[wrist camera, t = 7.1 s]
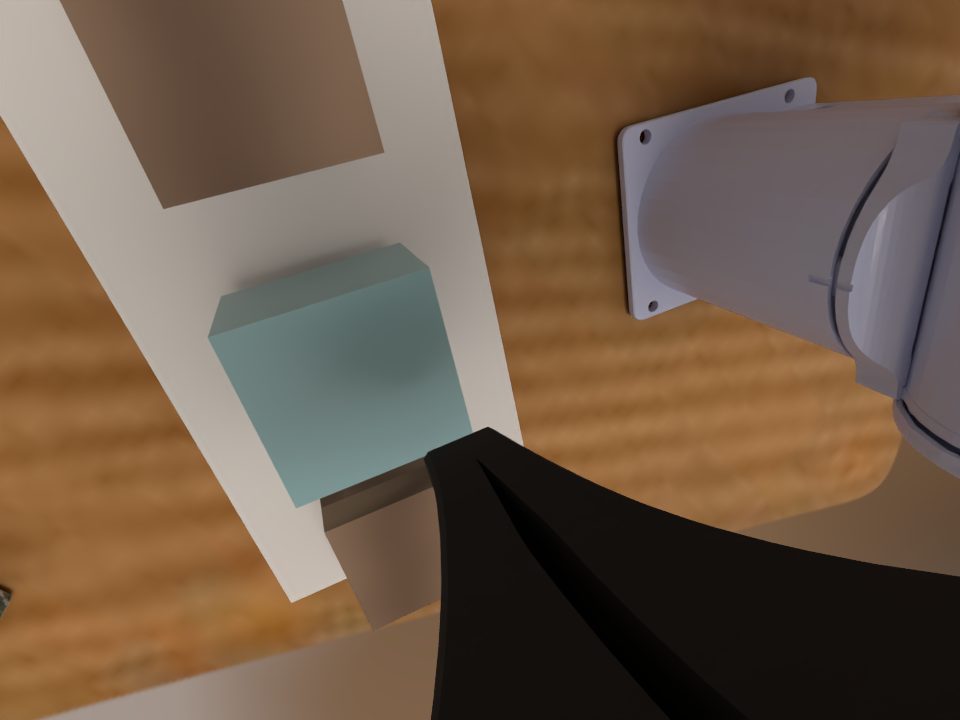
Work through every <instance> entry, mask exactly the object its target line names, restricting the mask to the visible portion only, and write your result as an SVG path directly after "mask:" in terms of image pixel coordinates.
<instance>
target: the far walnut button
mask: <svg viewBox="0 0 960 720" xmlns="http://www.w3.org/2000/svg"><path fill="white" fill-rule="evenodd" d="M424 458H425V456H424V457H422V458H419V459H417V460H414V461H412V462H409V463H407V464H404V465H402V466H399V467H397V468H395V469H392V470H390V471H387V472H385V473H382V474H380V475H377V476H375V477H372V478H370V479H367V480H365V481H363V482H360V483H358V484H355V485H353V486H350V487H348V488H345V489H343V490H340V491H338V492H335V493H333V494H331V495H328V496H326V497H323V498H321V499H320V503H321V511H322V519H323V527H324V533H325V535H326V537H327V539H328V541H329V543H330V545H331V547H332V549H333V551H334V553H335V555H336V557H337V559H338V561H339V563H340V565H341V567H342V569H343V571H344V573H345V575H346V577H347V579H348V581H349V583H350V585H351V587H352V589H353V591H354V593H355V595H356V597H357V599H358V601H359V603H360V605H361V607H362V609H363V612H364V614H365V616H366V618H367V620H368V622H369V624H370V626H371V628H372V630H373V631H374V630H376V629H378V628H380V627H382V626H385V625H387V624H389V623H391V622H393V621H395V620H397V619H399V618H401V617H403V616H405V615H408V614H410V613H412V612H414V611H416V610H418V609H420V608H422V607H424V606H426V605H428V604H431V603H433V602H435V601H437V600H439V599H441V551H440V532H439V522H438V512H437V503H436V497H435V492H434V489H433V486H432V483H431V480H430V477H429V474H428V471H427V468H426V465H425V462H424Z"/></svg>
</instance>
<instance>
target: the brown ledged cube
mask: <svg viewBox="0 0 960 720" xmlns="http://www.w3.org/2000/svg"><path fill="white" fill-rule="evenodd" d="M60 2H61V4H62V6H63V8H64V10H65V12H66V15H67V17H68V19H69V21H70V23H71V25H72V27H73V29H74V31H75V33H76V35H77V37H78V39H79V41H80V43H81V45H82V47H83V49H84V51H85V53H86V55H87V57H88V59H89V61H90V63H91V65H92V67H93V69H94V71H95V73H96V75H97V77H98V79H99V81H100V83H101V85H102V87H103V89H104V91H105V93H106V95H107V97H108V99H109V101H110V103H111V105H112V107H113V109H114V111H115V113H116V115H117V117H118V119H119V121H120V123H121V125H122V127H123V129H124V131H125V133H126V135H127V137H128V139H129V141H130V143H131V145H132V147H133V149H134V151H135V153H136V155H137V157H138V159H139V161H140V163H141V165H142V167H143V169H144V171H145V173H146V175H147V177H148V179H149V181H150V183H151V185H152V187H153V189H154V191H155V193H156V195H157V197H158V199H159V201H160V203H161V205H162V207H163V209H166V208H170V207H174V206H178V205H182V204H186V203H190V202H194V201H198V200H202V199H205V198H209V197H213V196H217V195H221V194H225V193H229V192H233V191H237V190H241V189H244V188H248V187H252V186H256V185H260V184H264V183H268V182H272V181H276V180H280V179H284V178H287V177H291V176H295V175H299V174H303V173H307V172H311V171H315V170H319V169H323V168H326V167H330V166H334V165H338V164H342V163H346V162H350V161H354V160H358V159H362V158H366V157H369V156H373V155H377V154H381V153H385V152H384V149H383V145H382V141H381V138H380V134H379V131H378V127H377V123H376V120H375V116H374V113H373V109H372V105H371V102H370V98H369V95H368V91H367V87H366V84H365V80H364V76H363V73H362V69H361V66H360V62H359V58H358V55H357V51H356V48H355V44H354V40H353V37H352V33H351V30H350V26H349V22H348V19H347V15H346V12H345V8H344V4H343V1H342V0H60Z"/></svg>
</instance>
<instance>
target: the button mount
mask: <svg viewBox="0 0 960 720" xmlns="http://www.w3.org/2000/svg"><path fill="white" fill-rule="evenodd" d="M342 1H343V4H344V8H345V12H346V15H347V19H348V22H349V26H350V30H351V33H352V37H353V40H354V44H355V48H356V51H357V55H358V58H359V62H360V66H361V69H362V73H363V76H364V80H365V84H366V87H367V91H368V95H369V98H370V102H371V105H372V109H373V113H374V116H375V120H376V123H377V127H378V131H379V134H380V138H381V141H382V145H383V149H384V152H385V153H381V154H377V155H373V156H369V157H366V158H362V159H358V160H354V161H350V162H346V163H342V164H338V165H334V166H330V167H326V168H323V169H319V170H315V171H311V172H307V173H303V174H299V175H295V176H291V177H287V178H284V179H280V180H276V181H272V182H268V183H264V184H260V185H256V186H252V187H248V188H244V189H241V190H237V191H233V192H229V193H225V194H221V195H217V196H213V197H209V198H205V199H202V200H198V201H194V202H190V203H186V204H182V205H178V206H174V207H170V208H166V209H163V207H162V205H161V203H160V201H159V199H158V197H157V195H156V193H155V191H154V189H153V187H152V185H151V183H150V181H149V179H148V177H147V175H146V173H145V171H144V169H143V167H142V165H141V163H140V161H139V159H138V157H137V155H136V153H135V151H134V149H133V147H132V145H131V143H130V141H129V139H128V137H127V135H126V133H125V131H124V129H123V127H122V125H121V123H120V121H119V119H118V117H117V115H116V113H115V111H114V109H113V107H112V105H111V103H110V101H109V99H108V97H107V95H106V93H105V91H104V89H103V87H102V85H101V83H100V81H99V79H98V77H97V75H96V73H95V71H94V69H93V67H92V65H91V63H90V61H89V59H88V57H87V55H86V53H85V51H84V49H83V47H82V45H81V43H80V41H79V39H78V37H77V35H76V33H75V31H74V29H73V27H72V25H71V23H70V21H69V19H68V17H67V15H66V12H65V10H64V8H63V6H62V4H61V2H60V0H0V116H1V117H2V119H3V121H4V122H5V124H6V126H7V127H8V129H9V131H10V132H11V134H12V136H13V137H14V139H15V141H16V143H17V144H18V146H19V148H20V149H21V151H22V153H23V154H24V156H25V158H26V159H27V161H28V163H29V164H30V166H31V168H32V169H33V171H34V173H35V174H36V176H37V178H38V179H39V181H40V183H41V184H42V186H43V188H44V189H45V191H46V193H47V194H48V196H49V198H50V199H51V201H52V203H53V204H54V206H55V208H56V209H57V211H58V213H59V215H60V216H61V218H62V220H63V221H64V223H65V225H66V226H67V228H68V230H69V231H70V233H71V235H72V236H73V238H74V240H75V241H76V243H77V245H78V246H79V248H80V250H81V251H82V253H83V255H84V256H85V258H86V260H87V261H88V263H89V265H90V266H91V268H92V270H93V271H94V273H95V275H96V276H97V278H98V280H99V282H100V283H101V285H102V287H103V288H104V290H105V292H106V293H107V295H108V297H109V298H110V300H111V302H112V303H113V305H114V307H115V308H116V310H117V312H118V313H119V315H120V317H121V318H122V320H123V322H124V323H125V325H126V327H127V328H128V330H129V332H130V333H131V335H132V337H133V338H134V340H135V342H136V343H137V345H138V347H139V348H140V350H141V352H142V354H143V355H144V357H145V359H146V360H147V362H148V364H149V365H150V367H151V369H152V370H153V372H154V374H155V375H156V377H157V379H158V380H159V382H160V384H161V385H162V387H163V389H164V390H165V392H166V394H167V395H168V397H169V399H170V400H171V402H172V404H173V405H174V407H175V409H176V410H177V412H178V414H179V415H180V417H181V419H182V421H183V422H184V424H185V426H186V427H187V429H188V431H189V432H190V434H191V436H192V437H193V439H194V441H195V442H196V444H197V446H198V447H199V449H200V451H201V452H202V454H203V456H204V457H205V459H206V461H207V462H208V464H209V466H210V467H211V469H212V471H213V472H214V474H215V476H216V477H217V479H218V481H219V482H220V484H221V486H222V488H223V489H224V491H225V493H226V494H227V496H228V498H229V499H230V501H231V503H232V504H233V506H234V508H235V509H236V511H237V513H238V514H239V516H240V518H241V519H242V521H243V523H244V524H245V526H246V528H247V529H248V531H249V533H250V534H251V536H252V538H253V539H254V541H255V543H256V544H257V546H258V548H259V549H260V551H261V553H262V554H263V556H264V558H265V560H266V561H267V563H268V565H269V566H270V568H271V570H272V571H273V573H274V575H275V576H276V578H277V580H278V581H279V583H280V585H281V586H282V588H283V590H284V591H285V593H286V595H287V596H288V598H289V600H290V601H291V603H292V602H295V601H297V600H299V599H301V598H304V597H306V596H308V595H310V594H313V593H315V592H317V591H319V590H321V589H324V588H326V587H328V586H330V585H333V584H335V583H337V582H339V581H342V580H344V579H346V578H347V577H346V575H345V573H344V571H343V569H342V567H341V565H340V563H339V561H338V559H337V557H336V555H335V553H334V551H333V549H332V547H331V545H330V543H329V541H328V539H327V537H326V535H325V533H324V527H323V519H322V511H321V503H320V499H318V500H316V501H313V502H311V503H308V504H306V505H303V506H301V507H299V508H296V507H295V505H294V503H293V501H292V499H291V498H290V496H289V494H288V492H287V490H286V488H285V486H284V484H283V482H282V480H281V478H280V476H279V474H278V472H277V471H276V469H275V467H274V465H273V463H272V461H271V459H270V457H269V455H268V453H267V451H266V449H265V447H264V445H263V444H262V442H261V440H260V438H259V436H258V434H257V432H256V430H255V428H254V426H253V424H252V422H251V420H250V418H249V417H248V415H247V413H246V411H245V409H244V407H243V405H242V403H241V401H240V399H239V397H238V395H237V393H236V391H235V389H234V388H233V386H232V384H231V382H230V380H229V378H228V376H227V374H226V372H225V370H224V368H223V366H222V364H221V362H220V361H219V359H218V357H217V355H216V353H215V351H214V349H213V347H212V345H211V343H210V341H209V339H208V335H209V332H210V329H211V326H212V322H213V319H214V316H215V313H216V310H217V307H218V304H219V301H220V298H221V296H223V295H227V294H230V293H233V292H237V291H240V290H243V289H247V288H250V287H253V286H257V285H260V284H263V283H267V282H270V281H273V280H277V279H280V278H283V277H287V276H290V275H293V274H297V273H300V272H303V271H307V270H310V269H313V268H317V267H320V266H323V265H327V264H330V263H333V262H337V261H340V260H343V259H346V258H350V257H353V256H356V255H360V254H363V253H366V252H370V251H373V250H376V249H380V248H383V247H386V246H390V245H393V244H396V243H401V244H402V245H403V246H405V247H406V248H407V249H408V250H409V251H410V252H412V253H413V254H414V255H415V256H416V257H418V258H419V259H420V260H421V261H422V262H423V263H425V264H426V265H427V266H428V267H429V268H430V272H431V276H432V280H433V283H434V287H435V291H436V295H437V298H438V302H439V306H440V310H441V314H442V317H443V321H444V325H445V329H446V333H447V336H448V340H449V344H450V348H451V351H452V355H453V359H454V363H455V367H456V370H457V374H458V378H459V382H460V386H461V389H462V393H463V397H464V401H465V404H466V408H467V412H468V416H469V420H470V423H471V427H472V431H473V433H474V432H476V431H478V430H481V429H483V428H486V427H490V428H492V429H494V430H496V431H498V432H499V433H501V434H503V435H504V436H506V437H508V438H510V439H511V440H513V441H515V442H516V443H518V444H520V445H522V446H523V447H524V445H523V441H522V436H521V431H520V426H519V421H518V417H517V412H516V407H515V402H514V397H513V392H512V388H511V383H510V378H509V373H508V368H507V364H506V359H505V354H504V349H503V344H502V340H501V335H500V330H499V325H498V320H497V316H496V311H495V306H494V301H493V296H492V291H491V287H490V282H489V277H488V272H487V267H486V263H485V258H484V253H483V248H482V243H481V239H480V234H479V229H478V224H477V219H476V215H475V210H474V205H473V200H472V195H471V191H470V186H469V181H468V176H467V171H466V166H465V162H464V157H463V152H462V147H461V142H460V138H459V133H458V128H457V123H456V118H455V114H454V109H453V104H452V99H451V94H450V90H449V85H448V80H447V75H446V70H445V66H444V61H443V56H442V51H441V46H440V41H439V37H438V32H437V27H436V22H435V17H434V13H433V8H432V3H431V0H342Z"/></svg>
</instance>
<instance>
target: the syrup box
mask: <svg viewBox="0 0 960 720" xmlns="http://www.w3.org/2000/svg"><path fill="white" fill-rule="evenodd" d="M11 597H12V596H11V595H10V594H9V593H7V592H5V591H3V590H1V589H0V619H1V617H2V615H3V613H4V612H5V610H6V608H7V606H8V604H9V602H10V600H11Z"/></svg>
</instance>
